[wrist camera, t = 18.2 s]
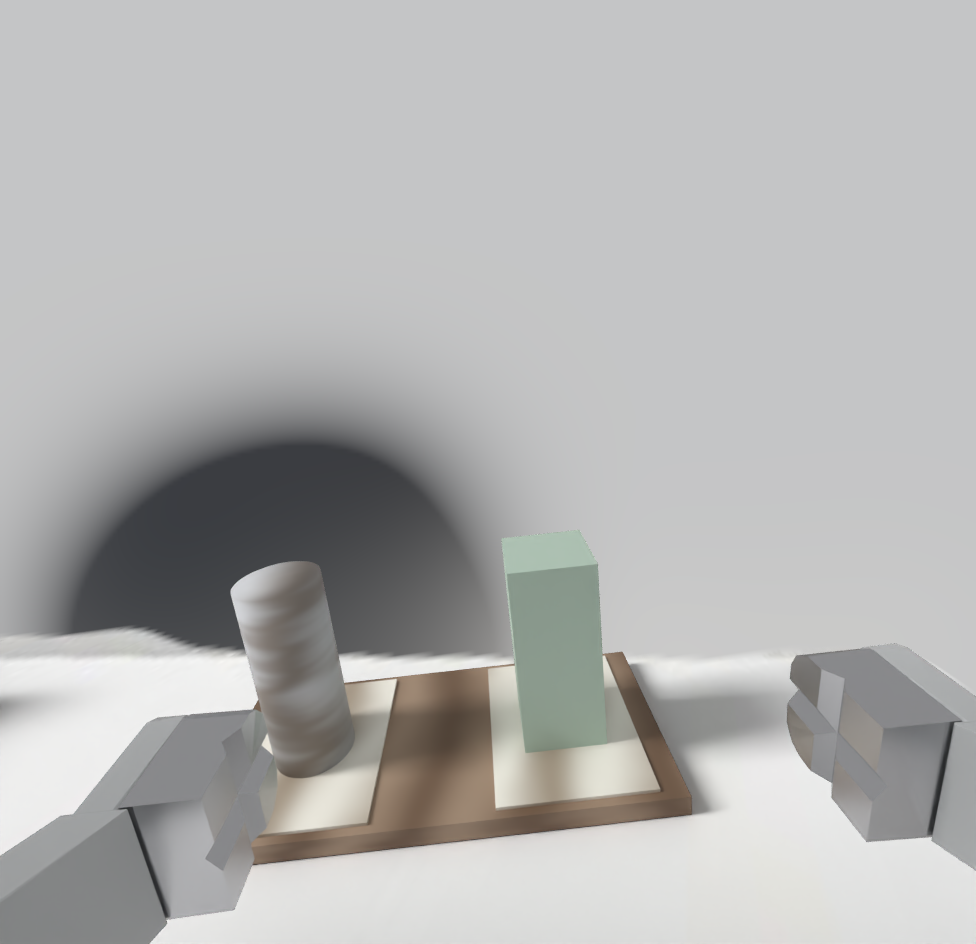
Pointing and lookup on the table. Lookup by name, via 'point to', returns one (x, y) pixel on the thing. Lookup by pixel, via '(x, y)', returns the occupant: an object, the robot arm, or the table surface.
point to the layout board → (425, 743)
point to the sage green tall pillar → (556, 640)
